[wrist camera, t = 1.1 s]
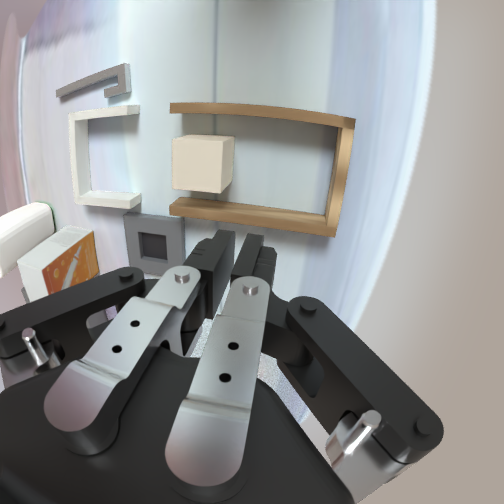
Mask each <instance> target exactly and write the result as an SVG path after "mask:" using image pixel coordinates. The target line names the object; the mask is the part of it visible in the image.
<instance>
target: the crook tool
mask: <svg viewBox="0 0 504 504" xmlns="http://www.w3.org/2000/svg"><path fill="white" fill-rule="evenodd" d="M116 76H118V85H117V86H114V87H110V88H107V89H104V96H105V98H110V97H113V96H117V95H120V94H124V93H127V92H131V80H130V64H127V63H124V64H121V65H118V66H115V67H112V68H109V69H106V70H103V71H101V72H98V73H95V74H93V75H90V76H88V77H85V78H83V79H80V80H78V81H76V82H73V83H71V84H69V85H67V86H64V87H62V88H60V89H58V90H56V98H57V97H63V96H65V95H68V94H70V93H72V92H75V91H77V90H80V89H82V88H85V87H87V86H90V85H93V84H95V83H98V82H101V81H104V80H107V79H110V78H113V77H116Z"/></svg>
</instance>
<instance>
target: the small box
mask: <svg viewBox="0 0 504 504" xmlns="http://www.w3.org/2000/svg"><path fill="white" fill-rule="evenodd" d="M17 263H18V267H19V270H20V274H21V277H22V281H23V285H24V287H25V290H26V292H27V295H28V298H29V301H30V302H33V301H35V300H38V299H40V298H43V297H45V296H48V295H50V294H53V293H55V292H58V291H61V290H63V289H66V288H68V287H71V286H74V285H76V284H79V283H82V282H84V281H87V280H90V279H92V278H93V277H94V276H95V275H96V274H97V273H98V272H99V269H98V264H97V258H96V252H95V244H94V236H93V230H89V229H84V228H79V227H75V226H70V225H67V226H65V227H64V228H62V229H61V230H59V231H58V232H56V233H55V234H53V235H52V236H50V237H49V238H47V239H46V240H45V241H43V242H42V243H40V244H39V245H37V246H36V247H35V248H33V249H32V250H31V251H29V252H28V253H27V254H25V255H24V256H23V257H21V258H20V259H18V260H17Z"/></svg>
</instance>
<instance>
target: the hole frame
mask: <svg viewBox="0 0 504 504" xmlns="http://www.w3.org/2000/svg"><path fill="white" fill-rule="evenodd" d="M123 218H124V228H125V236H126V244H127V251H128V258H129V265H130V267H136V268H139V269H141V270H142V271H143V272H145V273H150V274H155V275H160V276H163V275H164V274H165V272H166V271H167V270H169V269H171V268H173V267H176V266H182V265H183V263H184V262H185V238H184V219H183V218H174V217H166V216H157V215H149V214H140V213H131V212H127V213H126V214H124V215H123Z"/></svg>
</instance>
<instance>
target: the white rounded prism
mask: <svg viewBox="0 0 504 504" xmlns="http://www.w3.org/2000/svg"><path fill="white" fill-rule="evenodd" d="M53 233H54V222H53V216H52V210H51V208H50V207H49V206H48V205H47V204H44V203H37V202H35V203H32V204H29V205H26V206H23V207H21V208H18V209H16V210H13V211H11V212H9V213H7V214H5V215H3V216H1V217H0V278H3V277H4V276H5V275H7V273H9V272H10V271H12V270H13V269H14V268H15V267H16V266H18V263H17V260H18V259H20V258H21V257H23V256H24V255H25V254H27V253H28V252H29V251H31V250H32V249H33V248H35V247H36V246H37V245H39V244H40V243H42V242H43V241H45V240H46V239H47V238H49V237H50V236H51V235H52V234H53Z"/></svg>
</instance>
